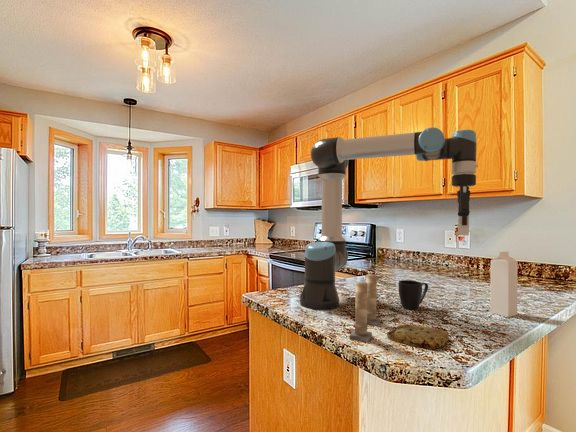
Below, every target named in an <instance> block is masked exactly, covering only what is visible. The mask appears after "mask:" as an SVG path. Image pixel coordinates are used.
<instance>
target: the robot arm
mask: <svg viewBox="0 0 576 432" xmlns="http://www.w3.org/2000/svg"><path fill="white" fill-rule="evenodd" d="M451 135H452V136H451V137H449V138H448V137H447V138H445V135H444V132H443V131H442V130H441V129H440V128H438V127H434V126H433V127H427V128H425V129H423V131H416V132H415V131H414V132H407V133H406V132H404V133H395V134H386V135H385V134H384V135H378V136H376V135H373V136H369V137H368V136H367V137H356V138H347V139H344V138H342V137H341V136H338V137H327V138H322V139H319V140H318V141H316V142H315V143H314V144H313V146H312V147H311V150H310V159H311V162H313V164H314V165H315V166H316V167H318V172H317V174H318V178H320V180H321V235H320V237H318V239H317V241H316V242H314V241H313V242H310V243H307V244H306V246H305V249H304V285H303V288H302V291H301V294H300V296H299V304H300V305H301V306H303V307H305V308H308V309H315V310H316V309H318V310H328V309H335V308H338V307H339V306H340V297H339V293H338V289H337V286H336V272H337V271H340V270H341V269H343V268H344V267H345V266H346V264H347V263H348V260H349V253H348V249H347V248H346V239H345V238H344V237H343V179H344V178H345V177H346V173H347V168H348V165H349V160H362V159H371V158H372V159H375V158H386V157H387V158H388V157H399V156H400V157H402V156H412V155H413V156H414V155H415V157H416V160H417V161H419V162H421V161H422V162H429V161H440V160H442V161H443V160H451V175H452V176H451V187H457V188H458V187H459V190H457V191H456V196H457V197H456V198H457V203H458V206H457V207H458V208H457V209H458V212H457V234H458V235H459V236H470V213H471V211H470V199H471V197H470V196H471V190H470V187H474V186H476V184H477V175H476V172H477V168H479V164H476V163H477V146H478V145H477V143H478V142H477V133H476V131H475V130H473V129H461V130H455V131H454V132H452V134H451Z"/></svg>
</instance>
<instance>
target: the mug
mask: <svg viewBox="0 0 576 432" xmlns="http://www.w3.org/2000/svg"><path fill="white" fill-rule="evenodd" d="M423 285H424V289H423ZM428 290H429V285H428V283H427V282H421V281H417V280H405V279H403V280H398V296H399V300H400V303H401V308H403V309H405V310H412V311H416V310H418V309H419V306H420V305H421V304H422V302H423V300H424V298H425V296H426V295H427V292H428Z"/></svg>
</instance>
